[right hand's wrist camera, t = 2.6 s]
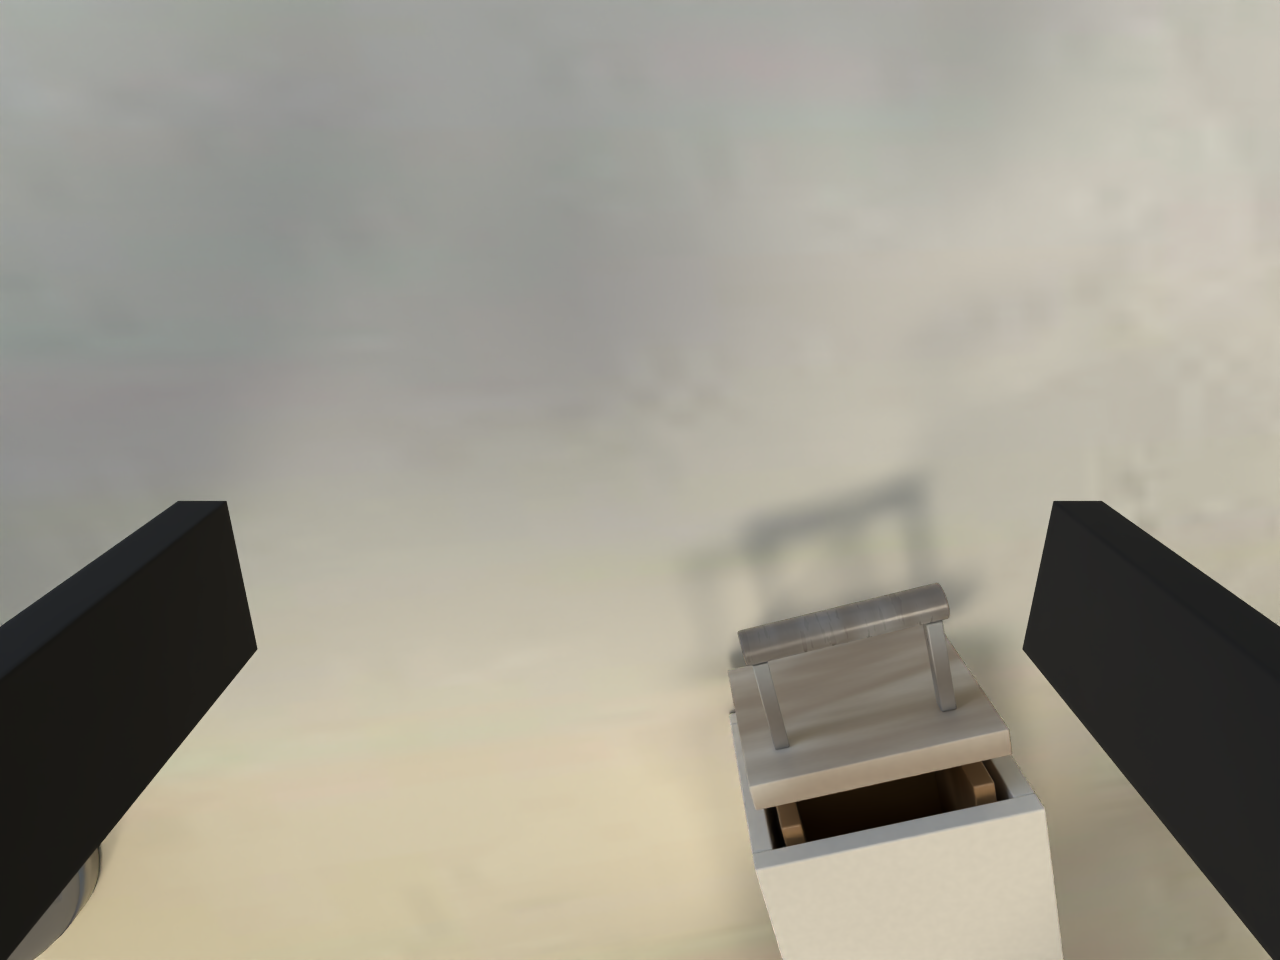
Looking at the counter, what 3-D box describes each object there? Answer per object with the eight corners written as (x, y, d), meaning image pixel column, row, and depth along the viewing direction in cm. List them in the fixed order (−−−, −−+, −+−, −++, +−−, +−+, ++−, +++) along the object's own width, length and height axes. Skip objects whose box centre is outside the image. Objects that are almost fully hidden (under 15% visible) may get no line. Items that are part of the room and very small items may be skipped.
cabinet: (728, 713, 38) (755, 870, 29) (951, 661, 37) (1046, 809, 28) (803, 968, 44) (843, 1159, 36) (995, 930, 43) (1083, 1117, 35)
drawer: (698, 570, 34) (714, 670, 27) (918, 515, 33) (992, 604, 26) (802, 929, 42) (834, 1077, 35) (981, 892, 41) (1051, 1037, 34)
